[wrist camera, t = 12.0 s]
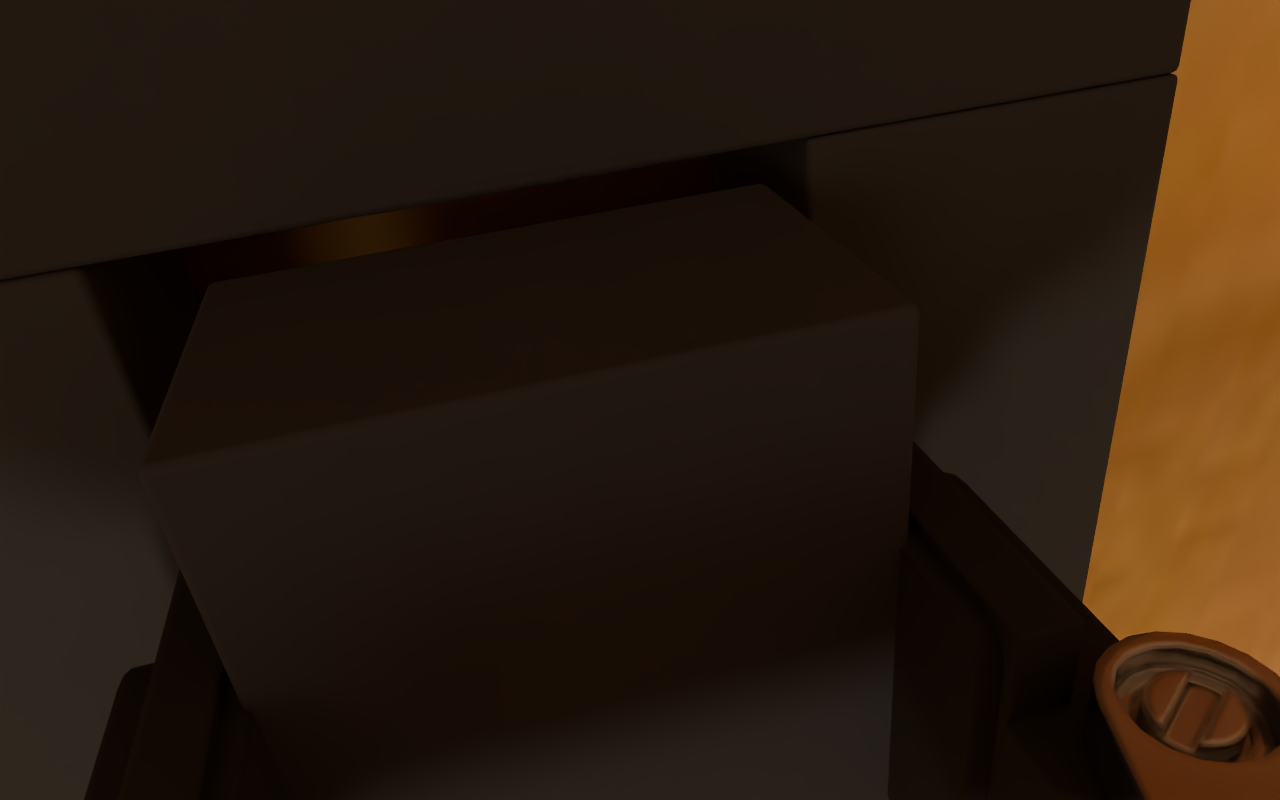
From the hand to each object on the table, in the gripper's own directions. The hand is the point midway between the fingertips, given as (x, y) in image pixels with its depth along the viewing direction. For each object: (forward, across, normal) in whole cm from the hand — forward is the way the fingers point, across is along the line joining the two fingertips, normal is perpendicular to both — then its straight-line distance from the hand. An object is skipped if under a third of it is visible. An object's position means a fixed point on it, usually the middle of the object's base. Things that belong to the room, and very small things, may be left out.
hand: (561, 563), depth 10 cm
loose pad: (0, 0, 0) cm, 0 cm away
